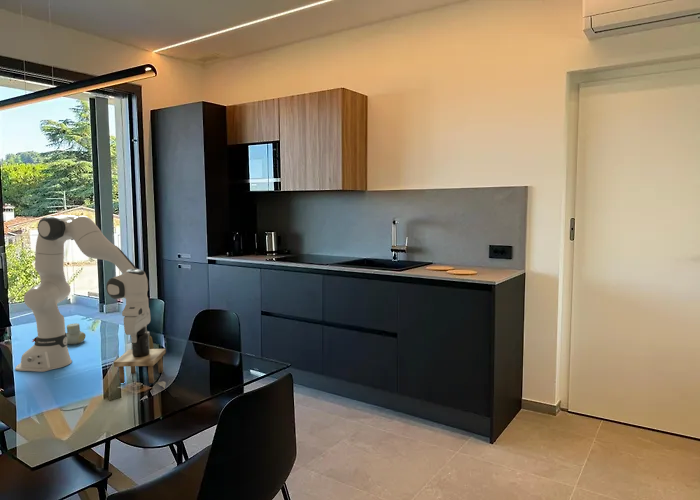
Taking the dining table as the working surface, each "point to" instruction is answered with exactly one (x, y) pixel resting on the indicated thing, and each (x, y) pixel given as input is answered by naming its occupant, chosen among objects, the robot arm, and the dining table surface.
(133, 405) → the dining table surface
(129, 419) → the dining table surface
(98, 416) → the dining table surface
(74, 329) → the air freshener
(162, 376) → the dining table surface
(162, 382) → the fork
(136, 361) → the stool
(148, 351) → the supplement bottle
